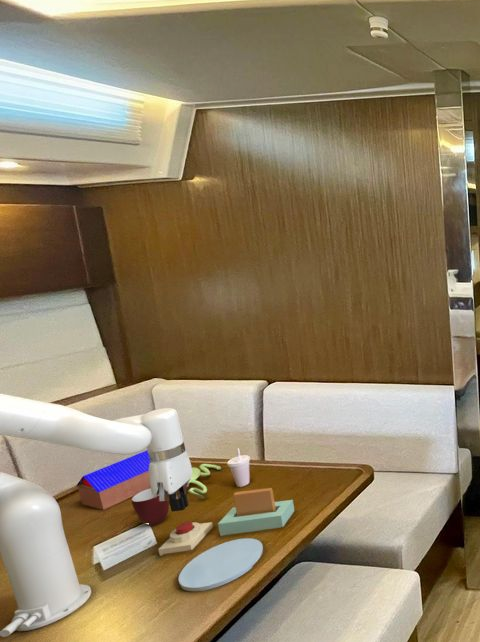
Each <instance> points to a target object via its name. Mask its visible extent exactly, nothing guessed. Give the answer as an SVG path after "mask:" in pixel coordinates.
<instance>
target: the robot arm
mask: <svg viewBox="0 0 480 642" xmlns="http://www.w3.org/2000/svg"><path fill="white" fill-rule="evenodd" d="M0 436H4V437H5V436H6V437H7V436H8V437H12V438H19V439H26V440H33V441H40V442H44V443H49V444H53V445H59V446H64V447H71V448H76V449H80V450H86V451H92V452H98V453H105V454H112V455H121V456H124V455H125V456H127V455H135V454H138V453H141V452H143V450H145V449H146V450H148V455H149V459H150V462H151V463H150V464H149V480H150V487H151V492H152V495H153V496H157V495H158V494H159V501H166V500H167V501H168V500H169V508H170V511H171V512H180V511H184V510H186V508H187V507H189V501H188V500H189V499H188V495H187V492H188V487H187V483H188V482H189V481H190V479H191V477H192V475H193V472H192V467H193V466H192V462H191V459H190V456H189V454H188V451H187V449H186V444H185V441H184V436H183V431H182V425H181V421H180V417H179V414H178V411H177V409H175V408H172V407H163V408H158V409H154V410H151V411H148V412H146V413H142V414H138V415H137V414H136V415H132V416H126V417H120V418H116V419H113V420H110V419H105V418H101V417H97V416H94V415H91V414H89V413H85V412H83V411H80V410H78V409H75V408H73V407H69V406H66V405H63V404H58V403H53V402H49V401H42V400H36V399H33V398H32V399H31V398H26V397H22V396H17V395H11V394H5V393H1V392H0ZM0 557H1V560H2V563H3V566H4V568H5V572H6V574H7V577H8V580H9V584H10V586H11V589H12V592H13V596H14V599H15V602H16V605H17V609H16V610H15V611H14V616H13V618H12V619H11V622H10V623H9V624H7V625H6V626H5V627H4V628H3V629H1V630H0V637H3V638H7V637H9V636H11V634H12V633H14V632H15V631H18V632H26V631H27V632H28V631H32V630H36V629H39V628H42V627H45V626H48V625H51V624H53V623H55V622H58V621H60V620H62V619H63V618H66V617H67V616H68V615H71V614H72V613H73V612H75V611H76V610H78V609H79V608H80V607H81V606H83V605H84V604H85V603H86V602H87V601H88V600H89V599H90V597H91V595H92V589H91V587H90V585H88V584H83V583H81V584H80V582H79V579H78V576H77V572H76V568H75V564H74V562H73V558H72V554H71V550H70V547H69V543H68V542H67V537H66V534H65V531H64V526H63V518H62V512H61V509H60V506H59V503H58V502H57V500H56V499H55V497H54V496H52V494H51V493H49V492H48V491H46V489H44V488H43V487H42V486H40V485H39V484H37V483H35V482H32V481H30V480H27V479H24V478H21V477H18V476H15V475H11V474H9V473H6V472H3V471H0Z"/></svg>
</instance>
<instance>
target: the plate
mask: <svg viewBox="0 0 480 642" xmlns="http://www.w3.org/2000/svg"><path fill="white" fill-rule="evenodd" d="M263 553H264V546H263V543H262V542H261V541H260V540H259V539H256V538H249V537H247V538H246V537H245V538H244V537H243V538H236V539H232V540H230V541H229V540H228V541H225V542H223V543H221V544H217V545H215V546H213V547H211V548H208V549H207V550H205V551H203V552H201V553H199V554H198V555H197V556H195V557H194V558H193V559H192V560H190V561H188V563H187V564H186V565H185V566H184V567H183V568H182V569H181V571H180V572H179V575H178V585H179V587H180V588H181V589H182V590H184V591H187V592H203V591H208V590H212V589H216V588H218V587H221V586H224V585H227V584H228V583H230V582H232V581H233V582H234V581H235V580H237V579H238V578H240V577H242V576H243V575H244V574H246V573H248V572H249V571H250V570H252V569H253V568H254V565H255V564H256V563H257V562H258V561H259V559H261V556H262V555H263Z"/></svg>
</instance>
